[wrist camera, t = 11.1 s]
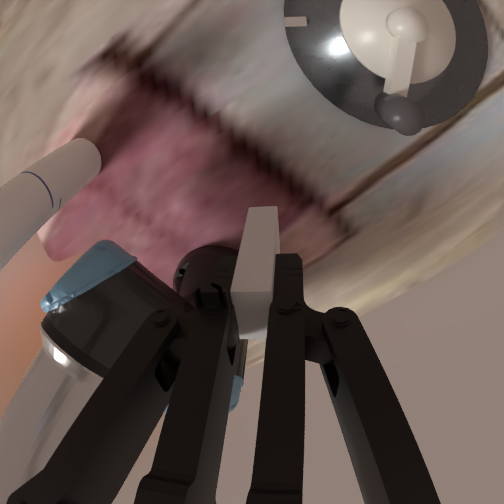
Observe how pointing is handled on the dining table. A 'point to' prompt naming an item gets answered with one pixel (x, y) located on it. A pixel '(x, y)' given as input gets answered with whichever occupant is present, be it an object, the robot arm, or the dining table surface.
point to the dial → (399, 50)
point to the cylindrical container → (43, 192)
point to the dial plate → (369, 84)
